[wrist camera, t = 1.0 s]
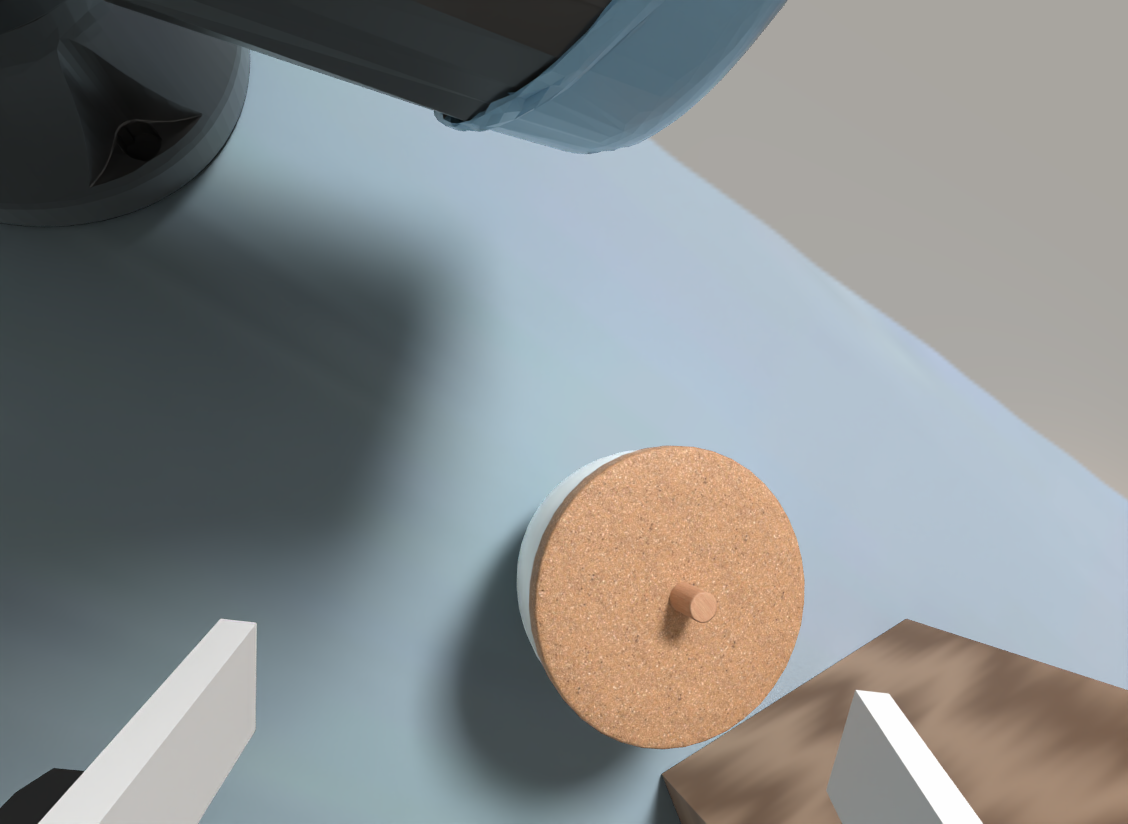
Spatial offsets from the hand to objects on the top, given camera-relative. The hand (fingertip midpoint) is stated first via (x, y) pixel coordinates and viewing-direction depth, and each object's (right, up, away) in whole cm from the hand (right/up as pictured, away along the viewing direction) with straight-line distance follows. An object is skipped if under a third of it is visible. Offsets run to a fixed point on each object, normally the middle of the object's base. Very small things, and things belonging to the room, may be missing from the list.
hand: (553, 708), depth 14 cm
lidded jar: (+2, 0, +17) cm, 17 cm away
